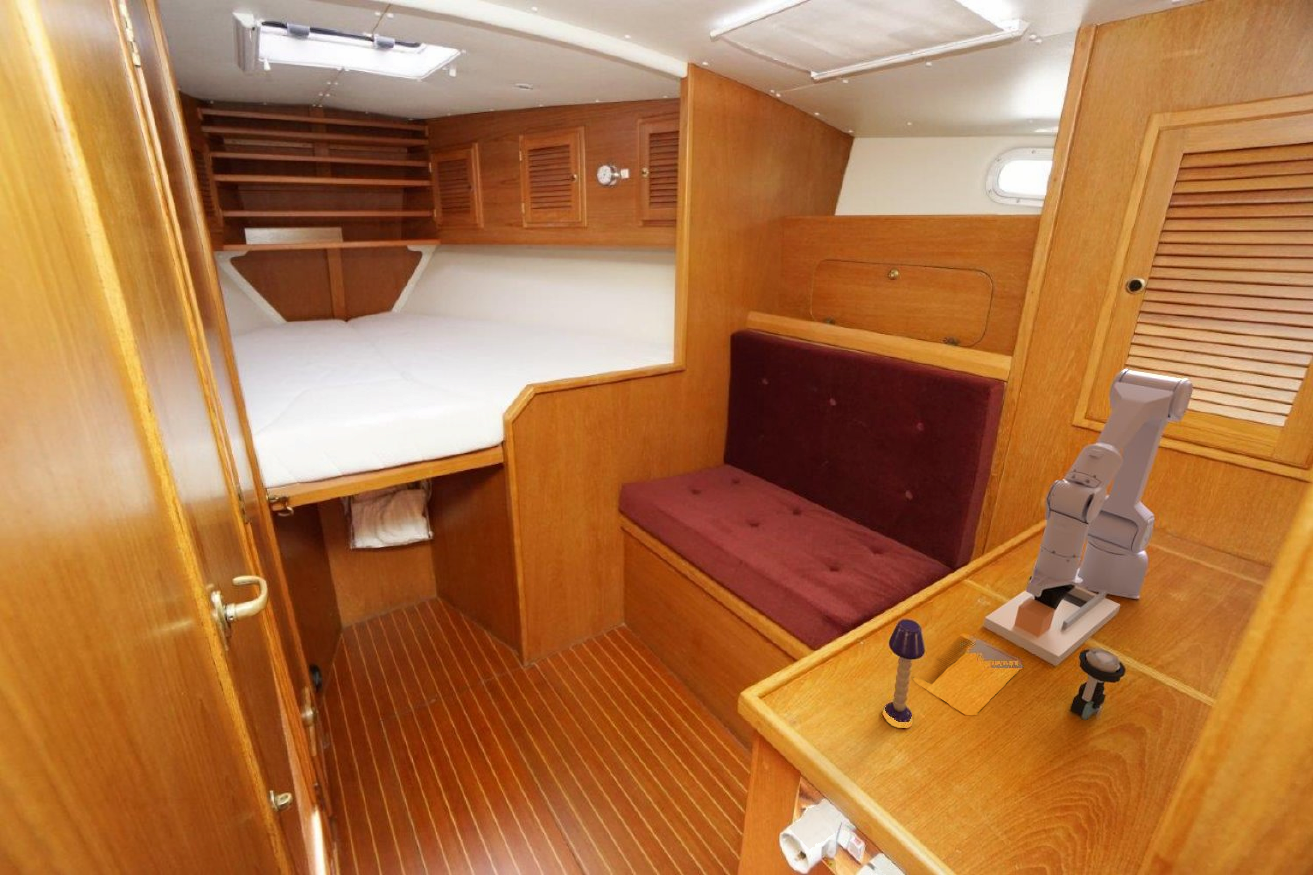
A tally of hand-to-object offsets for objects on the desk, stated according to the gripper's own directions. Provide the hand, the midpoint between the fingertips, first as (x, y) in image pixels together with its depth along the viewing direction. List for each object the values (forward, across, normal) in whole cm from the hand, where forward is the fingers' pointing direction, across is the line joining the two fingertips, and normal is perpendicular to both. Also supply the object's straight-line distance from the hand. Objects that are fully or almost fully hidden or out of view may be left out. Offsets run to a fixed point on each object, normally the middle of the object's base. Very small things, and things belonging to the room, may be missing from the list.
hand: (1043, 614), depth 101 cm
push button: (+3, -13, -13) cm, 19 cm away
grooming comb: (+4, -20, +1) cm, 21 cm away
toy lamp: (+3, -38, +2) cm, 39 cm away
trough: (+3, +4, 0) cm, 5 cm away
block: (+1, -3, 0) cm, 4 cm away
